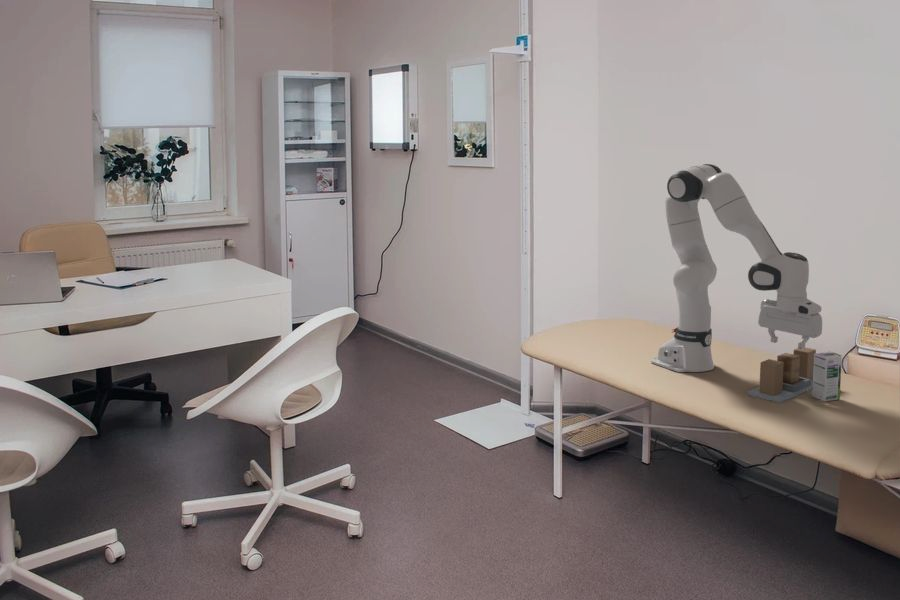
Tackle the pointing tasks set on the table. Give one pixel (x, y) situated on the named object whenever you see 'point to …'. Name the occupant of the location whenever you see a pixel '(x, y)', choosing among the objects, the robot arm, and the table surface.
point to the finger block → (790, 367)
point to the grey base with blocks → (773, 378)
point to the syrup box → (827, 376)
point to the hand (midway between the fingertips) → (787, 345)
